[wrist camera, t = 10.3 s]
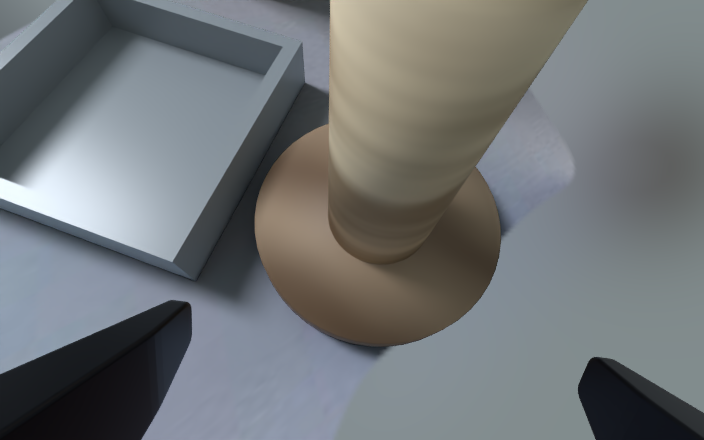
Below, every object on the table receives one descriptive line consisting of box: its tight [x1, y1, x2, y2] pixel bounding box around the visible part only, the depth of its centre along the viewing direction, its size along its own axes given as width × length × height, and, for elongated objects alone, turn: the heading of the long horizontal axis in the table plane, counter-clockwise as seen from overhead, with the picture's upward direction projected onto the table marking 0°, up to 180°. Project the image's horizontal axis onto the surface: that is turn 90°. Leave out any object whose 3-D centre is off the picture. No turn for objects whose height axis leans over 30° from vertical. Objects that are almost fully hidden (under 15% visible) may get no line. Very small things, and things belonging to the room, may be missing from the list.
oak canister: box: [328, 0, 588, 264], centre depth 12 cm, size 5×5×13 cm
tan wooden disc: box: [255, 124, 501, 347], centre depth 19 cm, size 12×12×2 cm
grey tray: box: [0, 0, 305, 281], centre depth 20 cm, size 14×14×3 cm
